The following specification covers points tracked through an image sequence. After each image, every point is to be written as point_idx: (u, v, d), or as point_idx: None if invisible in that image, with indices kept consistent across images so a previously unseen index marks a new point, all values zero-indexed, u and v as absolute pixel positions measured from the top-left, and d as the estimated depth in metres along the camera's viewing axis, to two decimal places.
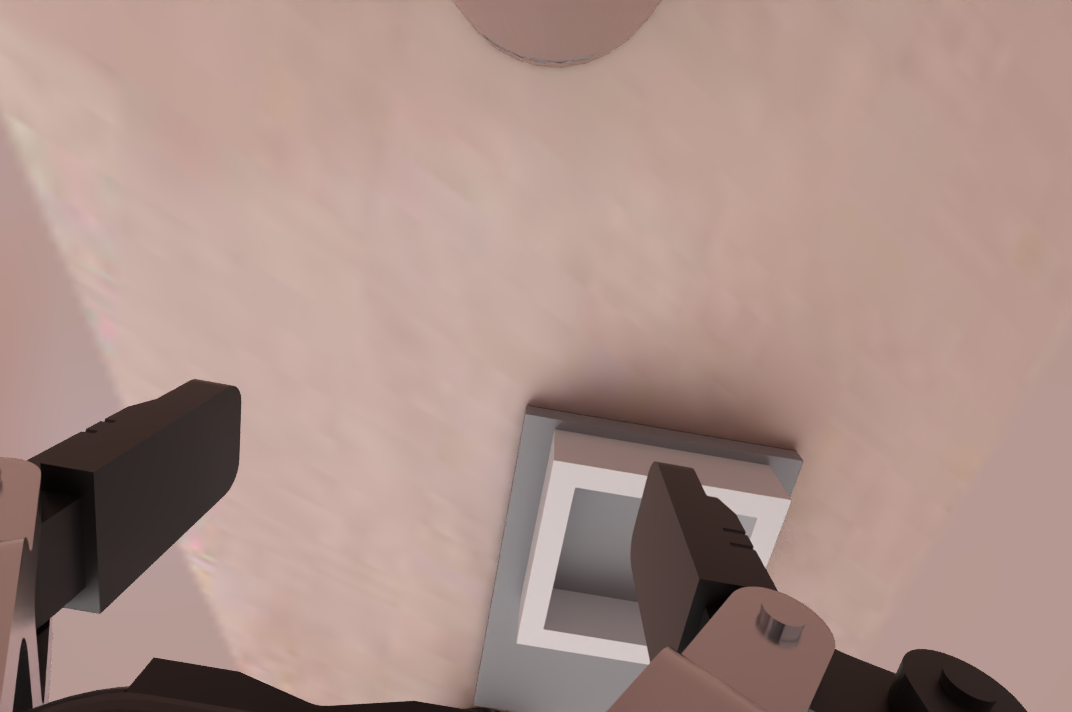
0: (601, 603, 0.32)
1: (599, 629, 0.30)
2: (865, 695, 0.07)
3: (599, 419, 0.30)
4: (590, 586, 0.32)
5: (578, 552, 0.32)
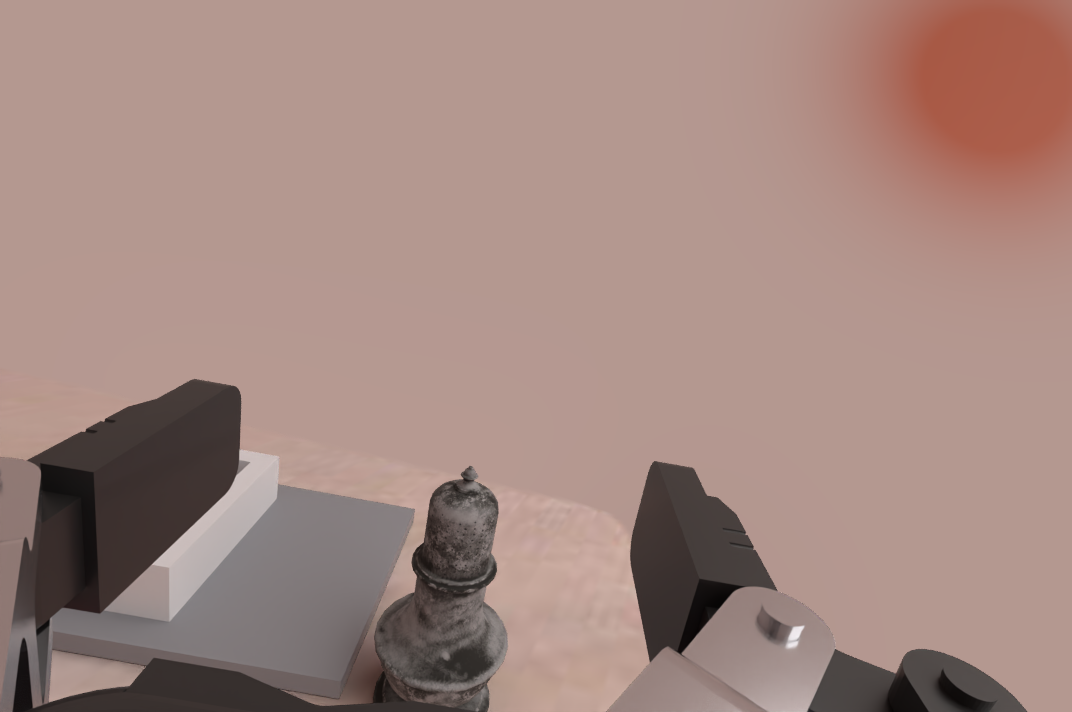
0: None
1: None
2: (865, 695, 0.07)
3: None
4: None
5: None
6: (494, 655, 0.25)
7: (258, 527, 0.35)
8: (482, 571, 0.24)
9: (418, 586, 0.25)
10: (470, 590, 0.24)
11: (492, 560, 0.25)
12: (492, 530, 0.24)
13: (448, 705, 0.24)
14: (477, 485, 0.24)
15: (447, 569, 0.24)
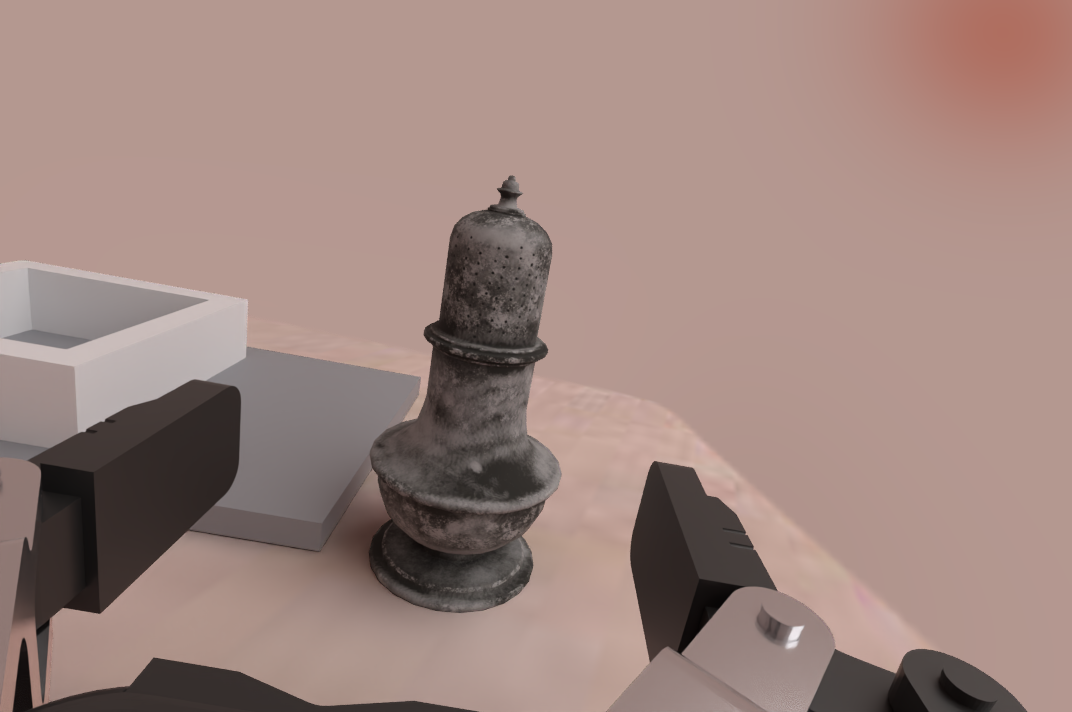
0: None
1: None
2: (865, 695, 0.07)
3: None
4: None
5: None
6: (544, 478, 0.17)
7: (218, 378, 0.27)
8: (529, 341, 0.16)
9: (434, 368, 0.17)
10: (513, 359, 0.16)
11: (540, 340, 0.18)
12: (544, 274, 0.16)
13: (480, 542, 0.16)
14: None
15: (478, 328, 0.16)
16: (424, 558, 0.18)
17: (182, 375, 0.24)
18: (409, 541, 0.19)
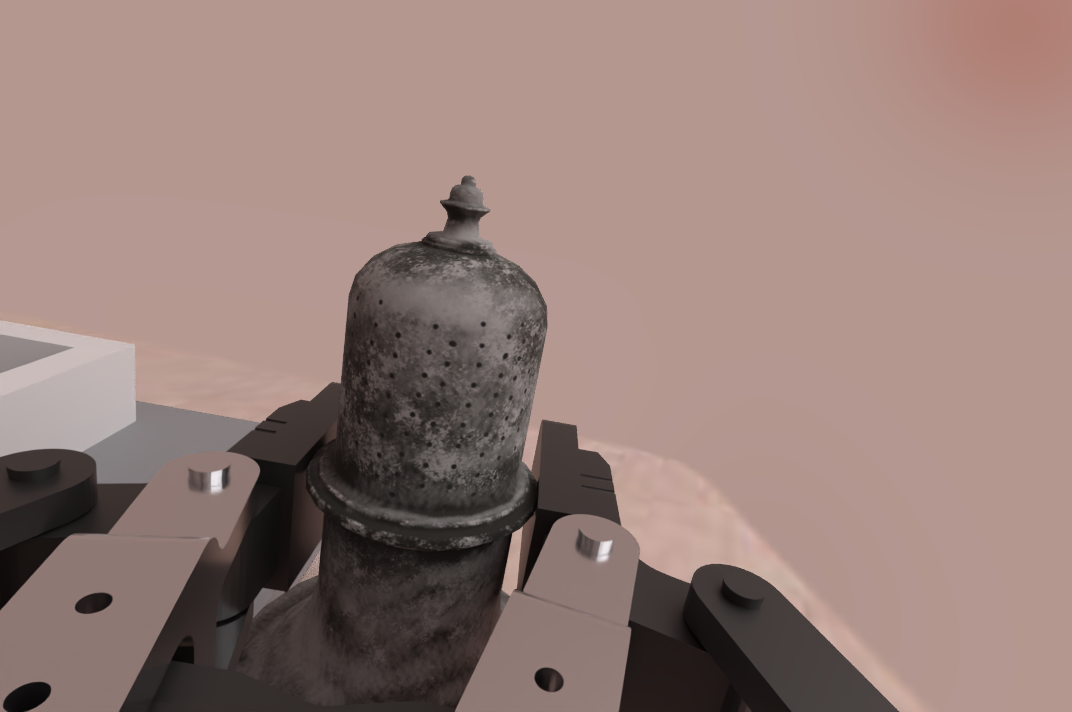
0: None
1: None
2: (665, 602, 0.08)
3: None
4: None
5: None
6: None
7: None
8: (502, 491, 0.09)
9: (324, 537, 0.09)
10: (468, 541, 0.08)
11: (526, 471, 0.10)
12: (532, 368, 0.08)
13: None
14: (488, 241, 0.08)
15: (398, 478, 0.08)
16: None
17: None
18: None
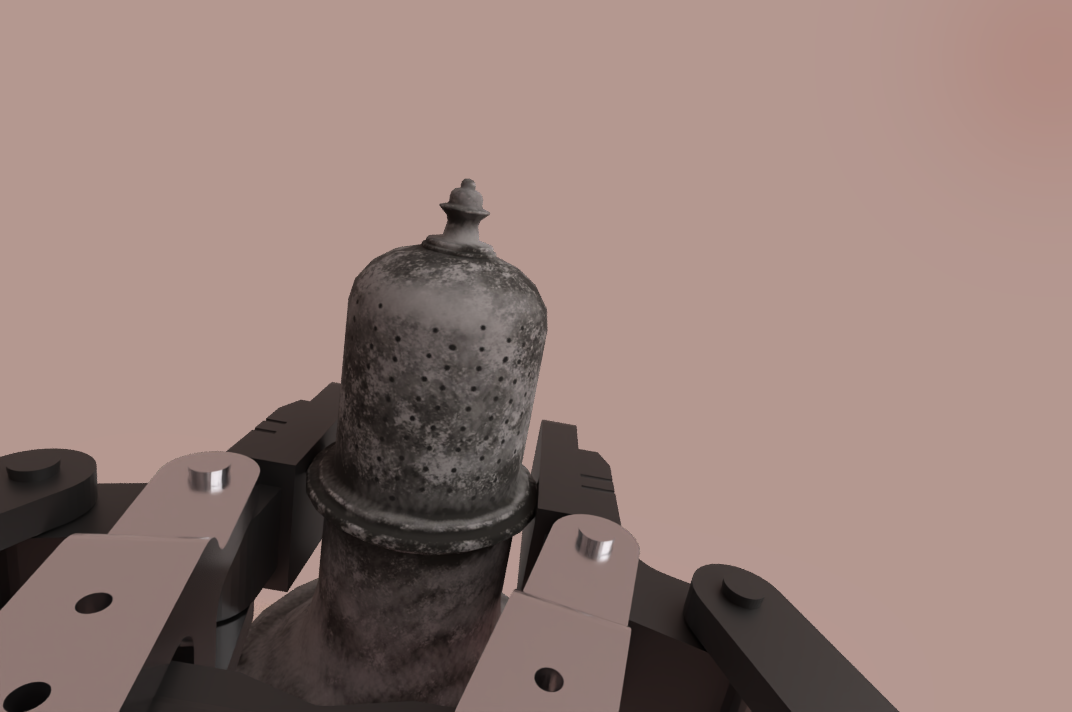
0: None
1: None
2: (665, 602, 0.08)
3: None
4: None
5: None
6: None
7: None
8: (502, 495, 0.09)
9: (324, 540, 0.09)
10: (469, 545, 0.08)
11: (526, 475, 0.10)
12: (532, 372, 0.08)
13: None
14: (487, 244, 0.08)
15: (399, 482, 0.08)
16: None
17: None
18: None
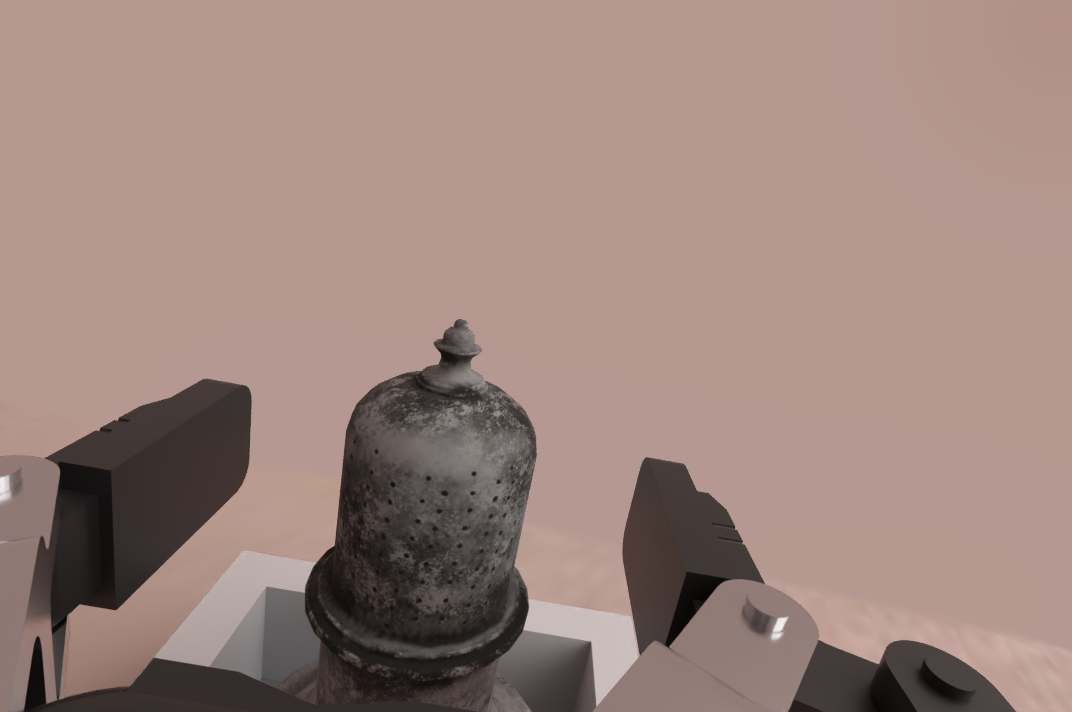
0: None
1: None
2: (849, 685, 0.07)
3: None
4: None
5: None
6: None
7: None
8: (493, 613, 0.09)
9: (322, 652, 0.09)
10: (460, 671, 0.08)
11: (517, 581, 0.10)
12: (521, 501, 0.09)
13: None
14: (479, 377, 0.09)
15: (393, 612, 0.08)
16: None
17: None
18: None
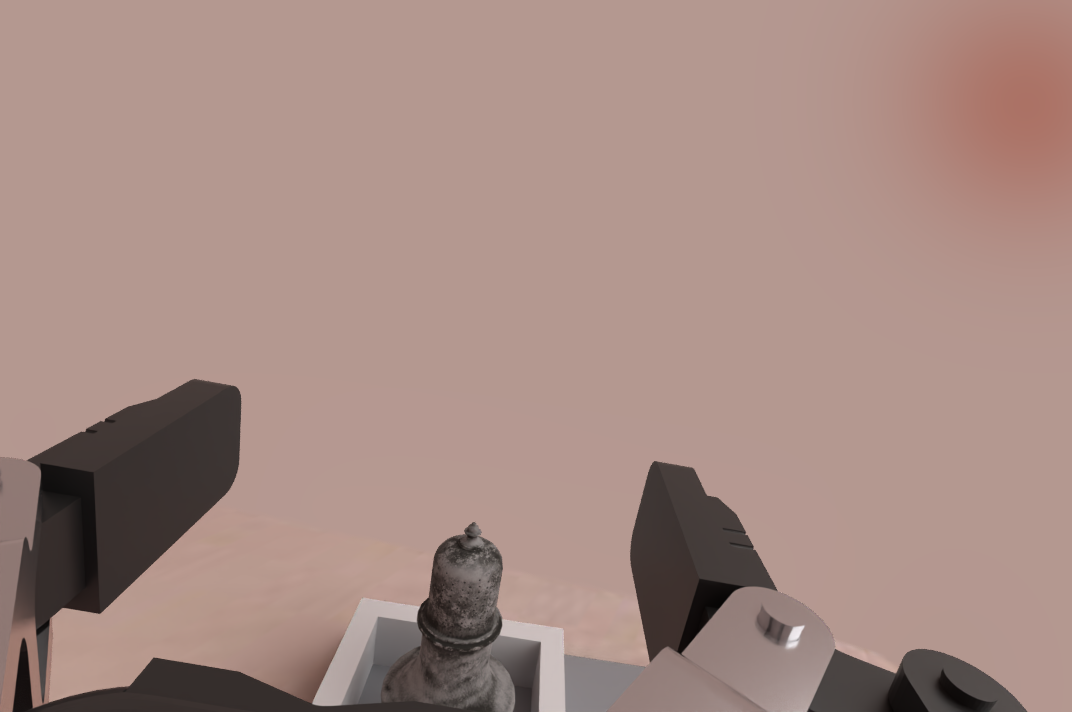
0: None
1: None
2: (865, 695, 0.07)
3: None
4: None
5: None
6: (502, 711, 0.25)
7: None
8: (488, 627, 0.24)
9: (424, 644, 0.24)
10: (476, 648, 0.24)
11: (498, 614, 0.25)
12: (497, 586, 0.24)
13: None
14: (481, 541, 0.24)
15: (452, 627, 0.23)
16: None
17: None
18: None
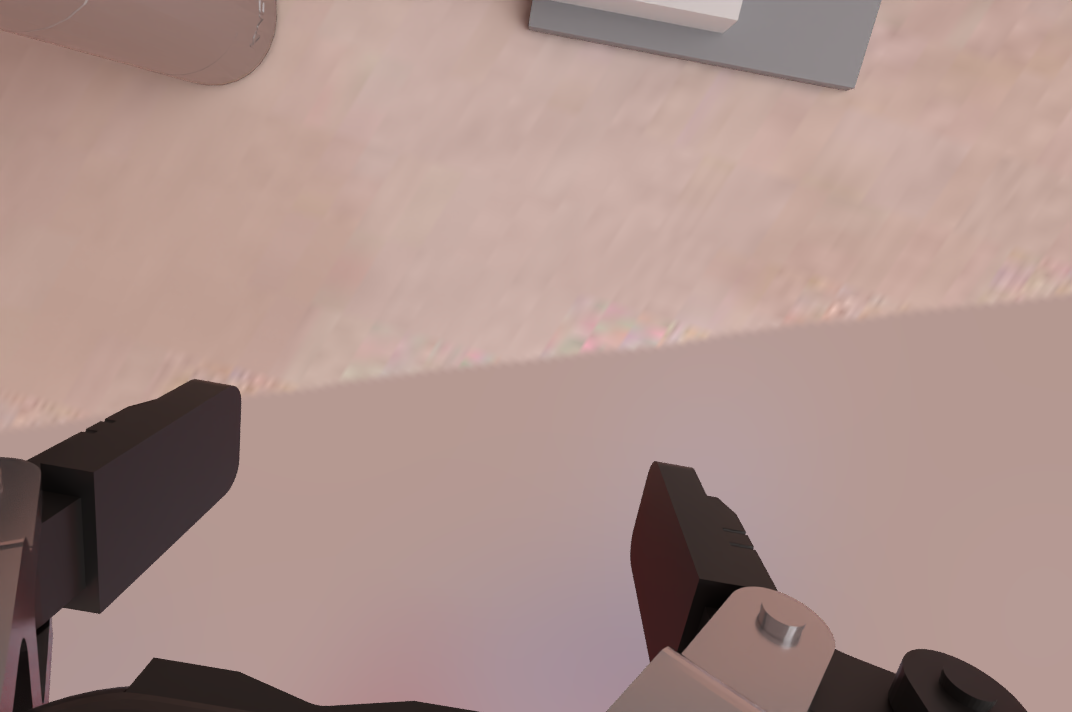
0: None
1: None
2: (865, 695, 0.07)
3: None
4: None
5: None
6: None
7: None
8: None
9: None
10: None
11: None
12: None
13: None
14: None
15: None
16: None
17: None
18: None
